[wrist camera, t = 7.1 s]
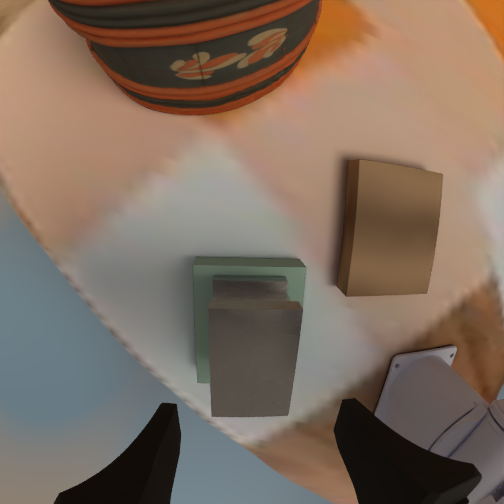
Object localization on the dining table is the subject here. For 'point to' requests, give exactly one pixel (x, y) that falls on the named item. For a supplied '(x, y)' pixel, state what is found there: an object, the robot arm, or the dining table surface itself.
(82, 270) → the dining table surface
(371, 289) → the stand
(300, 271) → the stand
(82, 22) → the beer stein
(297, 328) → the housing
